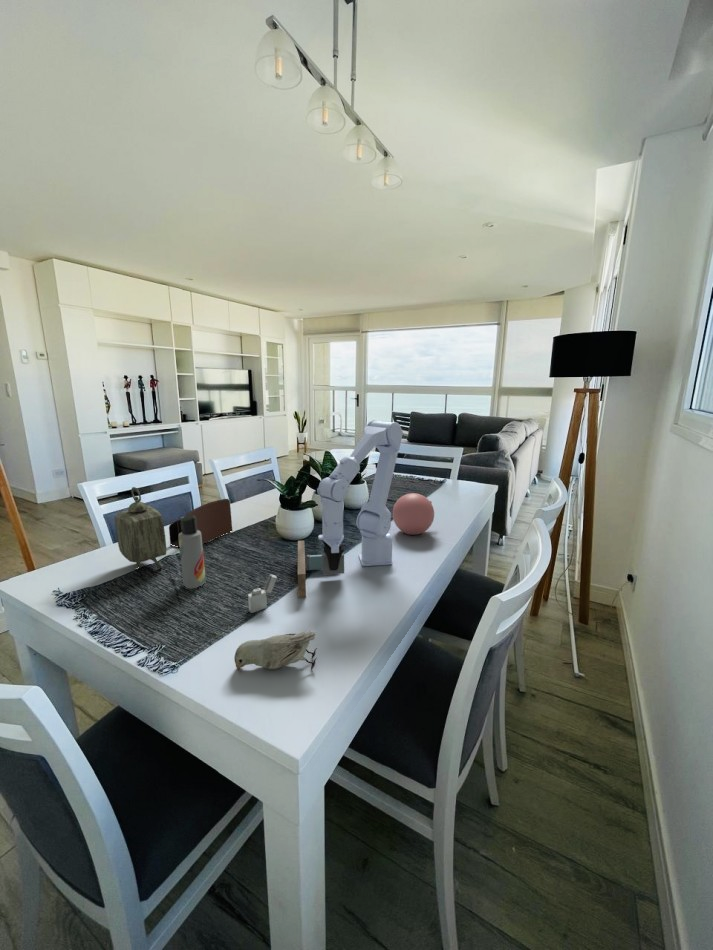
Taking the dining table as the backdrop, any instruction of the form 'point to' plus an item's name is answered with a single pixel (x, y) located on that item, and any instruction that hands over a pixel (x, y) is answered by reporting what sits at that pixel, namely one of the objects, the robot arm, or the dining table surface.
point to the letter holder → (206, 521)
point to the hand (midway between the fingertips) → (333, 566)
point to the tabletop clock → (140, 532)
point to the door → (313, 562)
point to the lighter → (261, 595)
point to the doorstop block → (325, 565)
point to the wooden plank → (301, 570)
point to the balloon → (413, 513)
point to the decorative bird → (275, 651)
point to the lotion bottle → (191, 553)
